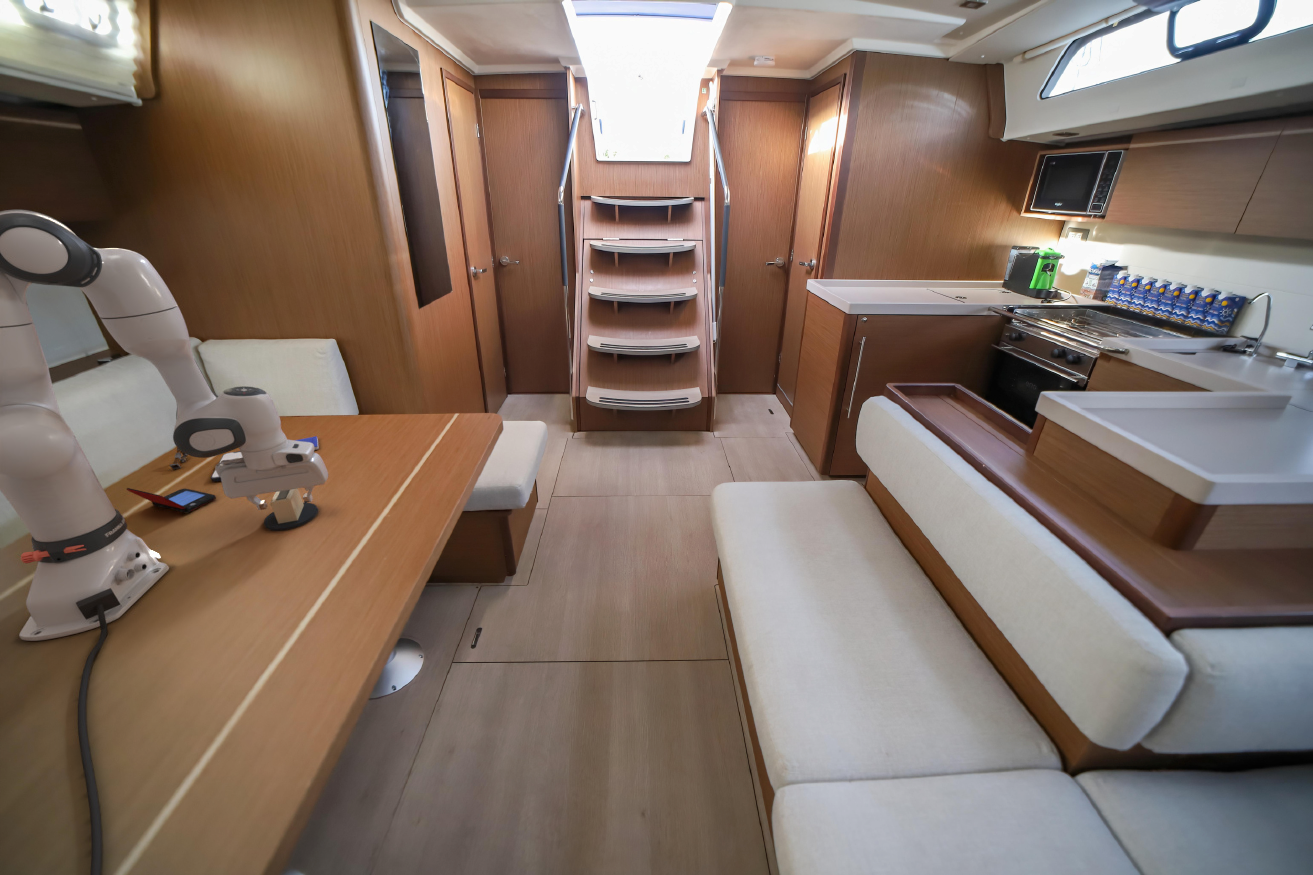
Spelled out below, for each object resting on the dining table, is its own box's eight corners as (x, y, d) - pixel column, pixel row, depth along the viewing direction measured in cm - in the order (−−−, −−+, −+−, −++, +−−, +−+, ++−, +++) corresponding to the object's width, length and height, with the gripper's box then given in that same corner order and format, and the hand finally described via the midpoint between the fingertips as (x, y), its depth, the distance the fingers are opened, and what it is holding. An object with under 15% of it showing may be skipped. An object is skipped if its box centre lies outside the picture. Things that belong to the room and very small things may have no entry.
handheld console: (219, 498, 130) (208, 474, 127) (172, 522, 121) (159, 496, 118) (185, 490, 133) (173, 466, 130) (137, 512, 124) (123, 487, 121)
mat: (313, 525, 120) (312, 522, 120) (258, 535, 117) (257, 532, 116) (322, 501, 129) (321, 499, 129) (271, 510, 126) (270, 507, 125)
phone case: (250, 476, 141) (260, 452, 153) (248, 471, 140) (258, 447, 153) (210, 484, 137) (224, 458, 150) (208, 479, 136) (222, 453, 149)
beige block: (304, 503, 127) (297, 482, 125) (297, 520, 121) (289, 499, 118) (286, 506, 126) (278, 485, 123) (278, 523, 119) (269, 502, 117)
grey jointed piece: (191, 452, 151) (182, 443, 147) (185, 473, 146) (177, 463, 143) (183, 453, 150) (175, 444, 147) (177, 474, 146) (169, 465, 142)
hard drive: (268, 455, 149) (317, 445, 155) (269, 444, 155) (316, 435, 161) (270, 459, 149) (318, 449, 155) (271, 448, 155) (317, 439, 162)
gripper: (206, 468, 109) (229, 520, 115) (315, 453, 116) (331, 503, 122) (217, 455, 114) (239, 506, 120) (320, 442, 121) (336, 490, 127)
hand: (286, 504), depth 121 cm, fingers open, 8 cm apart
